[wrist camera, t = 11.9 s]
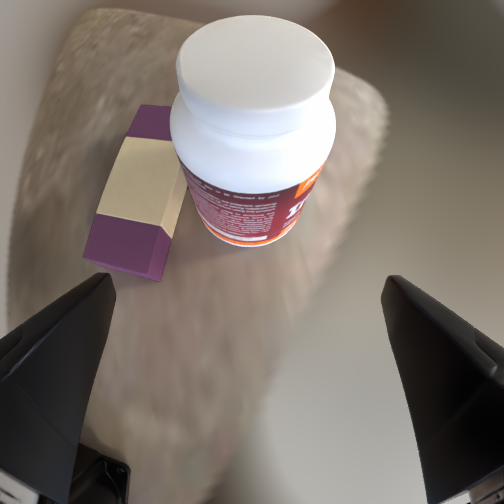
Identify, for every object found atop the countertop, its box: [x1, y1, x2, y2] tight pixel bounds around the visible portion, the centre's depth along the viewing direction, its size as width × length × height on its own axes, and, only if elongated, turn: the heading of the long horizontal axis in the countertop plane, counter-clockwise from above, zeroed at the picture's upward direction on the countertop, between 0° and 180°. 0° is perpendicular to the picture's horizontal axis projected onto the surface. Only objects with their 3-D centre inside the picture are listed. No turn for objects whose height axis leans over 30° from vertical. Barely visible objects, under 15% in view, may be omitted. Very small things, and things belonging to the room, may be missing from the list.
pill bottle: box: [170, 15, 336, 247], centre depth 13 cm, size 6×6×11 cm
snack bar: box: [83, 105, 188, 281], centre depth 17 cm, size 10×4×2 cm, turn 168°
